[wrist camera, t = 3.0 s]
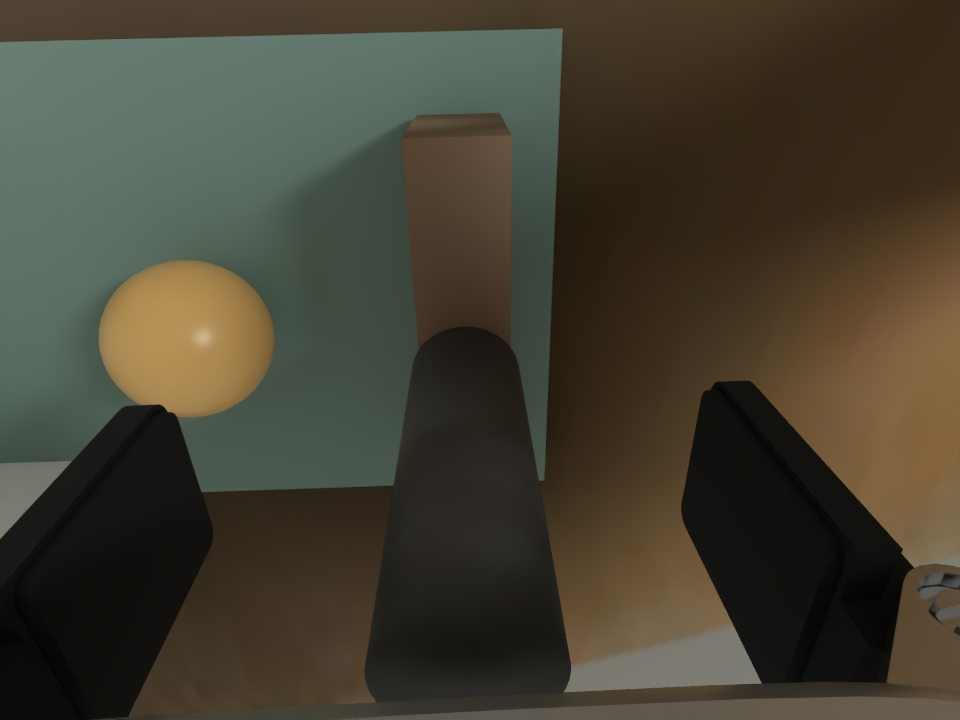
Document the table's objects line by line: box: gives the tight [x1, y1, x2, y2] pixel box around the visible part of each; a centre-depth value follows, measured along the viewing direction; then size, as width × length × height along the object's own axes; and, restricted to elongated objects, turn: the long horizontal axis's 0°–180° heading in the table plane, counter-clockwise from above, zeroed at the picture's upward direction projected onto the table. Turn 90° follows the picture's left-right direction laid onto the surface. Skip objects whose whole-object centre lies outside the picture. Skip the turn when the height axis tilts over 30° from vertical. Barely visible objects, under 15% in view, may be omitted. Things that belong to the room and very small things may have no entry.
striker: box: [365, 113, 571, 702], centre depth 12 cm, size 2×10×11 cm, turn 1°
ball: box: [99, 260, 275, 417], centre depth 15 cm, size 4×4×4 cm
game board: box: [0, 29, 563, 539], centre depth 15 cm, size 23×14×8 cm, turn 91°
